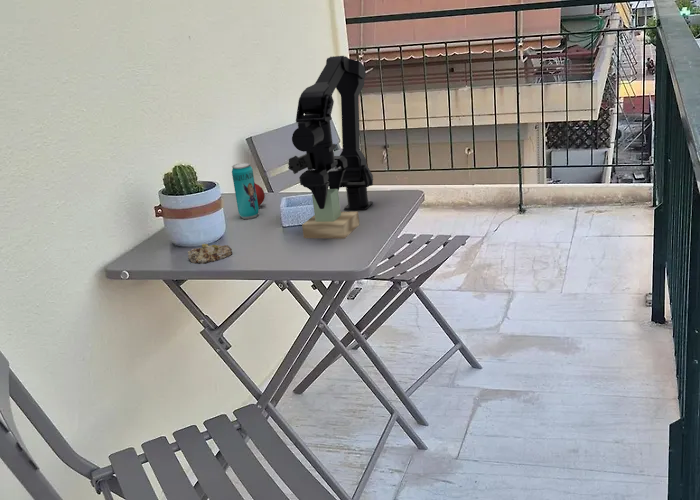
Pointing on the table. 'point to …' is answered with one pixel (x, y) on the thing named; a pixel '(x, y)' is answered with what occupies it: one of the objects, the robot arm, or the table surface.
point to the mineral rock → (209, 253)
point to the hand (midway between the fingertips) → (328, 203)
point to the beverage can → (245, 190)
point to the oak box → (331, 226)
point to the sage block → (328, 207)
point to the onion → (259, 194)
